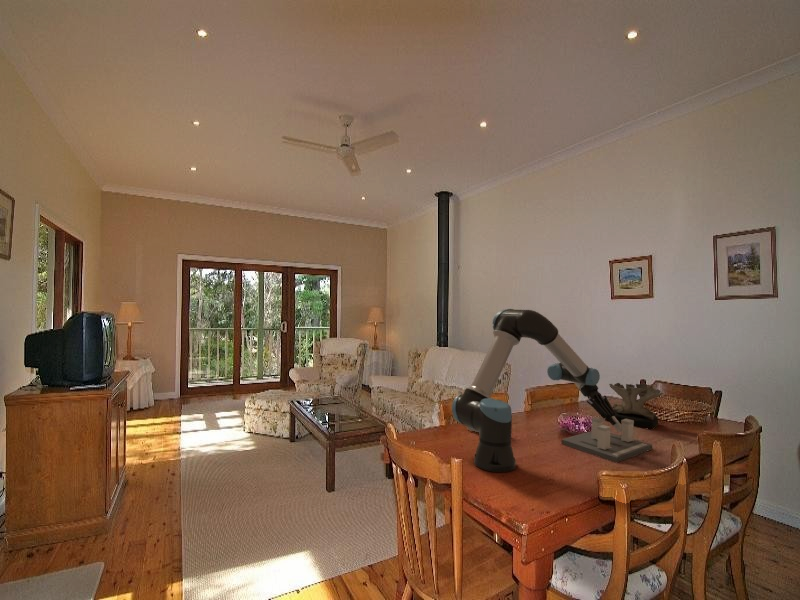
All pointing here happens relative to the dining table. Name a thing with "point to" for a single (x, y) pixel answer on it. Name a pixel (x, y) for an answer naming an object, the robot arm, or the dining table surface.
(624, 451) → the switch panel
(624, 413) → the coral
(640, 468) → the dining table surface
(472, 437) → the dining table surface
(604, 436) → the near lever
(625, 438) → the far lever
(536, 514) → the dining table surface
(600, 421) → the middle lever
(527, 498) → the dining table surface
